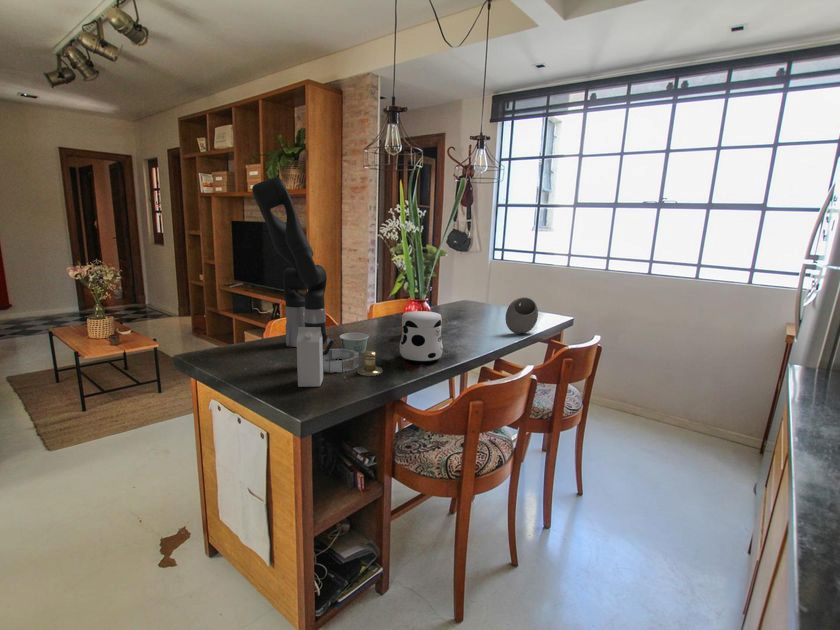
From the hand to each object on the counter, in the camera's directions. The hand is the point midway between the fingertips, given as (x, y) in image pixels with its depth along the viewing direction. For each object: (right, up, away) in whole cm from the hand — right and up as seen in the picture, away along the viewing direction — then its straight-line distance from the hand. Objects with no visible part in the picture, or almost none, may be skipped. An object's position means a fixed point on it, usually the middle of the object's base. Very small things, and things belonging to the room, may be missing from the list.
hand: (316, 365), depth 159 cm
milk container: (+39, +1, +12) cm, 41 cm away
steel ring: (+7, 0, +1) cm, 7 cm away
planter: (+89, +9, +57) cm, 106 cm away
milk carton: (+2, -4, -17) cm, 18 cm away
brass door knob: (+21, -2, -5) cm, 21 cm away
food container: (+11, +3, +20) cm, 23 cm away
